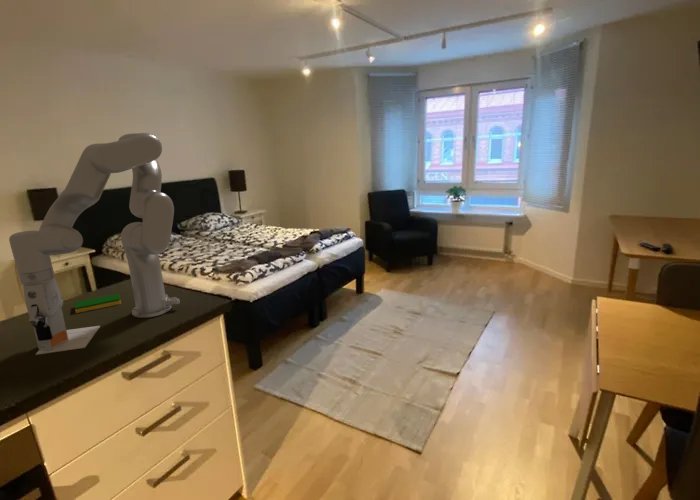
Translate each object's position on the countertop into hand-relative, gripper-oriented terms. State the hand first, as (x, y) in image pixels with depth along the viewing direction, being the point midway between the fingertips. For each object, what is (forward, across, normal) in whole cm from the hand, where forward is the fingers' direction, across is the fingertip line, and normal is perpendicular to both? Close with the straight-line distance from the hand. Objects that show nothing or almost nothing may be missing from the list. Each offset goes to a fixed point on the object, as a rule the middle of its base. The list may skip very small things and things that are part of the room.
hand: (51, 332), depth 110 cm
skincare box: (+4, 0, 0) cm, 4 cm away
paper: (+4, +3, -3) cm, 6 cm away
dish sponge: (+5, +30, -3) cm, 30 cm away
